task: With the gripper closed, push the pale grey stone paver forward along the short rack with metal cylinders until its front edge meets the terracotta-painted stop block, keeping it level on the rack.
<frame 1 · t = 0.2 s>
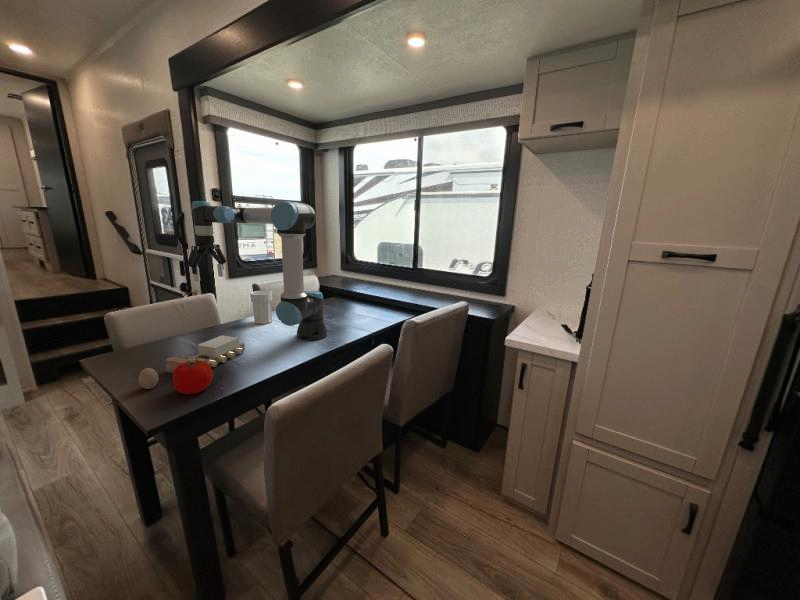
hand: (209, 278, 156), 28 cm above the table, fingers open, 13 cm apart
cup: (263, 322, 179), on the table
rack with metal cylinders: (212, 360, 129), on the table
egg: (150, 388, 107), on the table
tomato: (194, 390, 107), on the table
paver: (219, 350, 132), point 3 cm above the table, touching rack with metal cylinders
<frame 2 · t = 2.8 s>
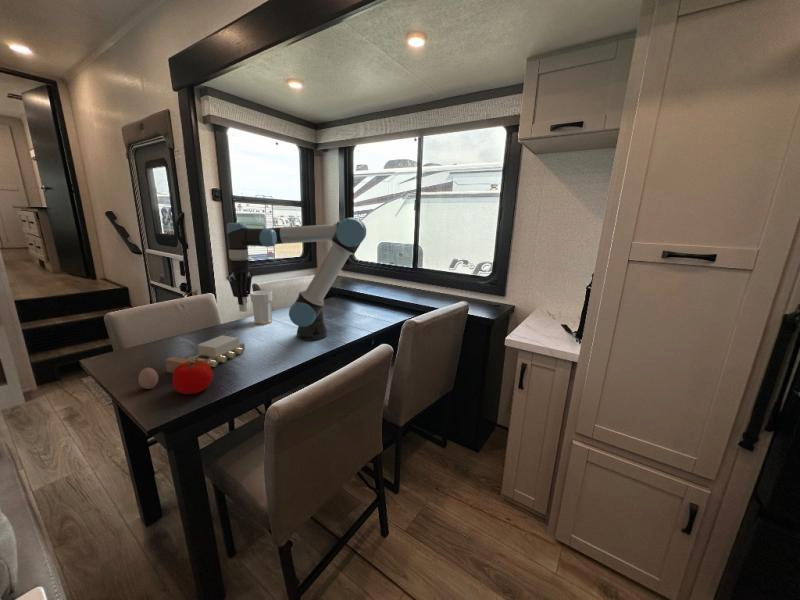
hand: (243, 311, 143), 16 cm above the table, fingers closed
nothing on the table moved.
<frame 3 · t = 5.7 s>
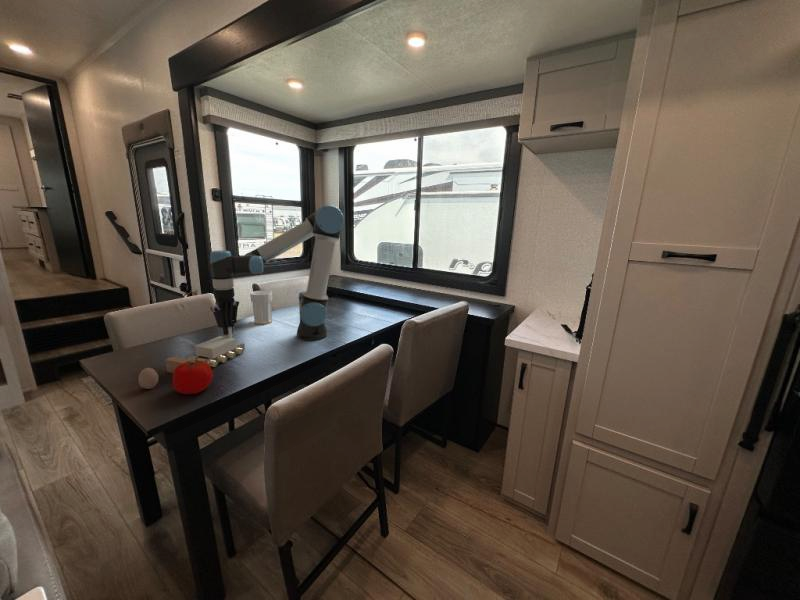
hand: (229, 341, 137), 5 cm above the table, fingers closed
paver: (217, 351, 131), point 3 cm above the table, touching rack with metal cylinders, gripper
everything else where it was.
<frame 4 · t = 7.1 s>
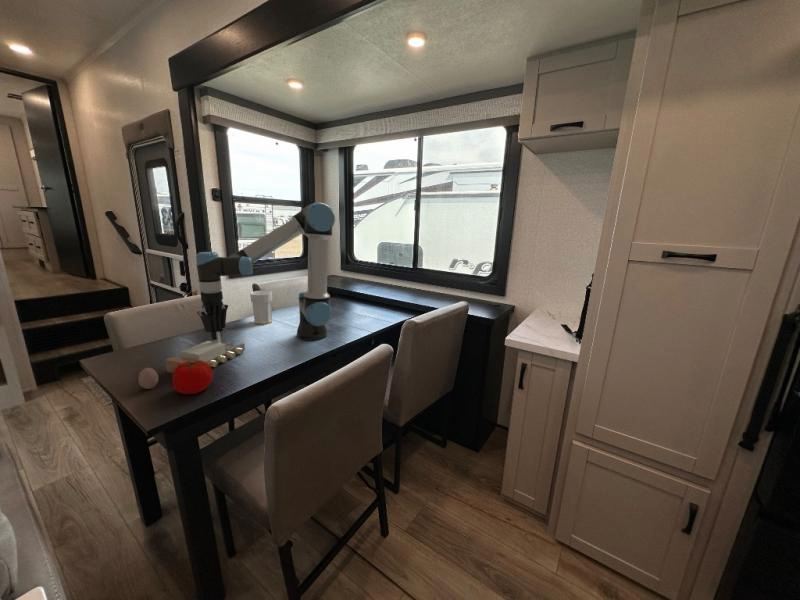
hand: (217, 346, 131), 5 cm above the table, fingers closed
paver: (204, 356, 126), point 3 cm above the table, touching rack with metal cylinders, gripper
everything else where it was.
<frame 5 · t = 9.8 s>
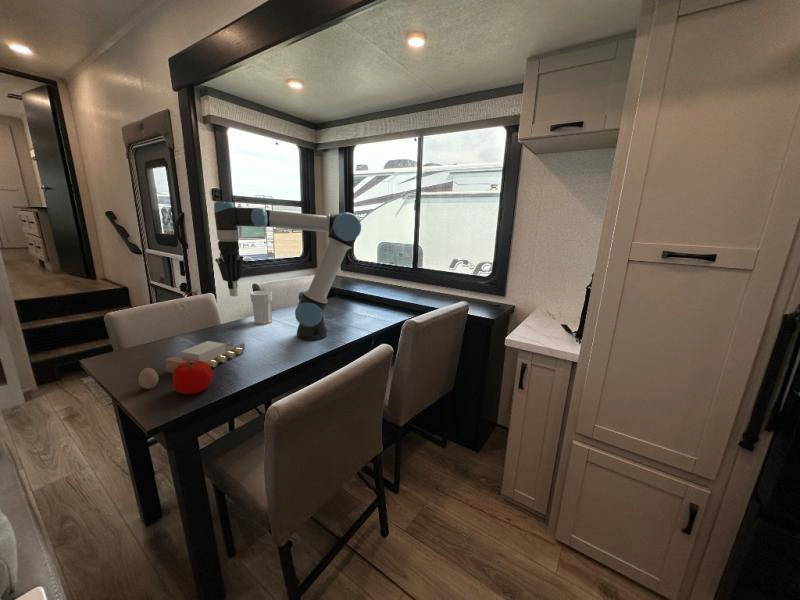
hand: (233, 295, 137), 24 cm above the table, fingers closed
paver: (204, 356, 126), point 3 cm above the table, touching rack with metal cylinders
everything else where it was.
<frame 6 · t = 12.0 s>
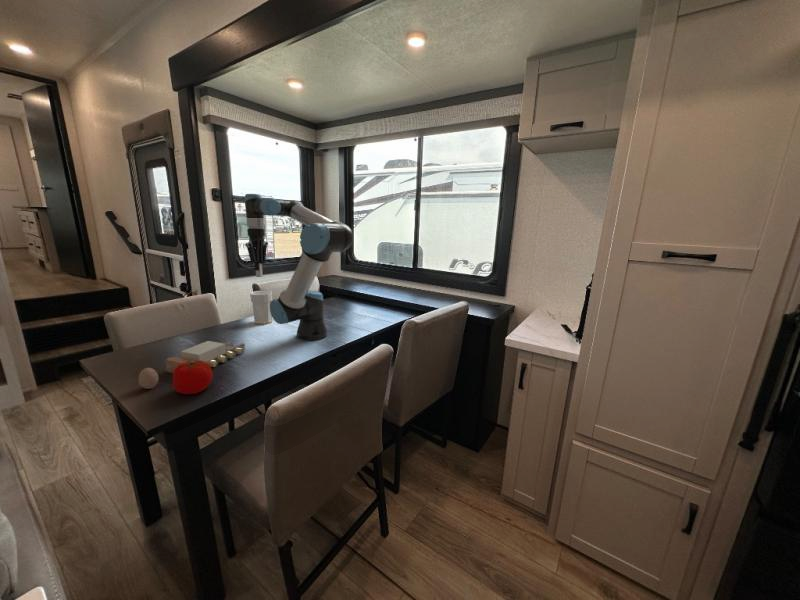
hand: (259, 276, 156), 29 cm above the table, fingers closed
nothing on the table moved.
at the end: paver inside the target area (0.5 cm from its centre), point 3.0 cm above the table; paver tilted 0°; paver touching rack with metal cylinders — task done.
